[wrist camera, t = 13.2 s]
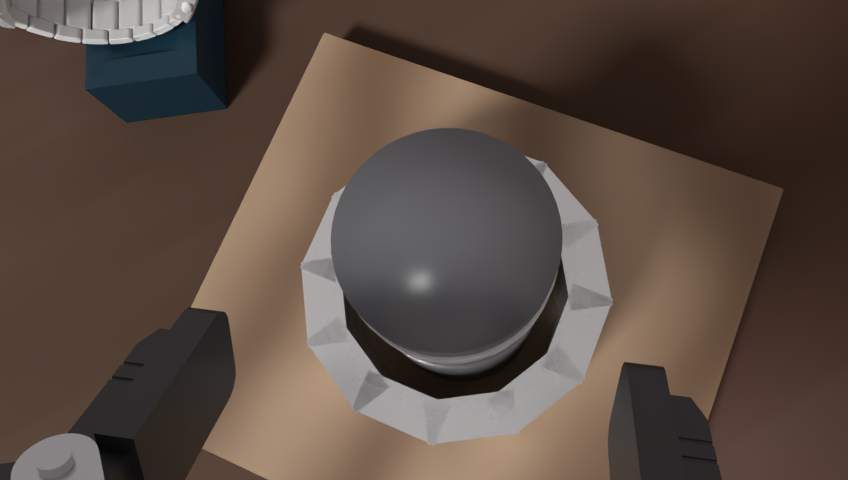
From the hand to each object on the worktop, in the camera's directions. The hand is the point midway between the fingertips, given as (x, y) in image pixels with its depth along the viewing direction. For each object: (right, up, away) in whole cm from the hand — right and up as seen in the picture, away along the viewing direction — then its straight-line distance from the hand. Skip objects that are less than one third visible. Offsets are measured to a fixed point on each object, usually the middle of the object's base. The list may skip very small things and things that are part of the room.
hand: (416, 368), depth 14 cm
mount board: (+1, 0, +12) cm, 12 cm away
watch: (-11, +10, +16) cm, 22 cm away
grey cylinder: (+1, 0, +11) cm, 11 cm away
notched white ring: (+1, 0, +11) cm, 11 cm away
